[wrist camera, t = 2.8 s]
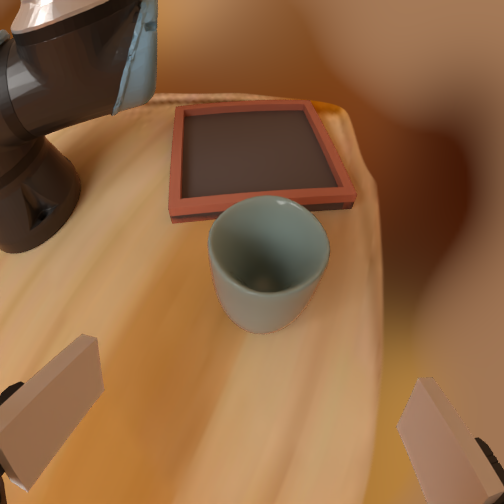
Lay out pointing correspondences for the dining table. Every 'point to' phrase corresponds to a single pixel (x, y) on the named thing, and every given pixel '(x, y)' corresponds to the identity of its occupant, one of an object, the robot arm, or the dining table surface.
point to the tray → (253, 158)
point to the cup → (266, 261)
